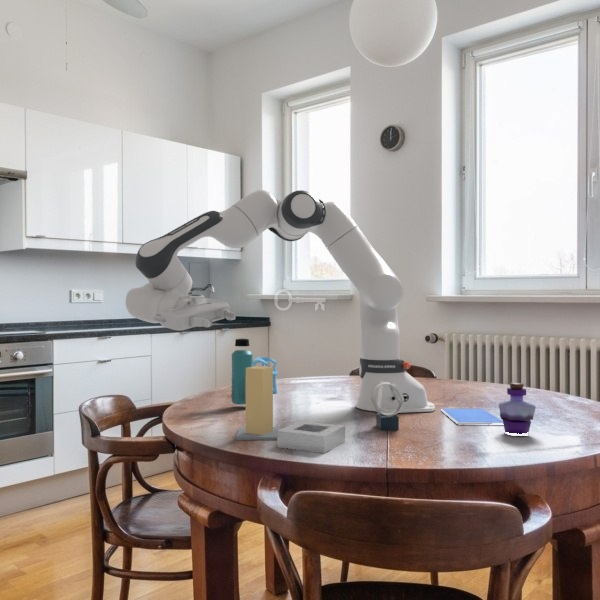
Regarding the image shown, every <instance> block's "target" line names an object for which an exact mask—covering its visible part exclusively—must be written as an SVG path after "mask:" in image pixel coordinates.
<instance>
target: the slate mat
mask: <svg viewBox="0 0 600 600" xmlns="http://www.w3.org/2000/svg"><path fill="white" fill-rule="evenodd" d="M280 429H282V426H273V431H271V432H269V433H267V434H264V435H258V434H251V433H246V426H240V427H239V428H238V430H237V433H236V435H235V440H236V441H243V440H244V441H246V440H247V441H252V440H253V441H264V440H265V441H274V440H276V441H277V431H278V430H280Z"/></svg>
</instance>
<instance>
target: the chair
mask: <svg viewBox="0 0 600 600" xmlns="http://www.w3.org/2000/svg"><path fill="white" fill-rule="evenodd" d="M269 362H271V363H273V364H274V365H273V366H272V367H273V394H278V388H277V375H279V371H277V370H276V369H277V368H276V366H277V364H278V361H276V360H275V359H273V358H271V357H266V356H265V357H263V356H258V357H256V358H253V366H257V365H256V364H261V366H265V367H269Z"/></svg>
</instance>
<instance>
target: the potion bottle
mask: <svg viewBox="0 0 600 600" xmlns="http://www.w3.org/2000/svg"><path fill="white" fill-rule="evenodd" d="M524 385H525V384H524V383H521V382H510V383H509V387H506V393H507V395H509V397H510V398H509V400H506V401H505V400H504V401H502V402H501V401H500V402H498V409H499V417H500V419H501V420H502V421H503V424H504V426H503V428H504V433H505V432H509V433H517V434H518V433H519V434H522V433H527V432H530V428H531V424H532V421H534V416H535V411H536V405H535V404H534V403H530V402H527V401H524V396H527V388H525V387H524Z"/></svg>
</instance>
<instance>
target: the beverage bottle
mask: <svg viewBox="0 0 600 600" xmlns="http://www.w3.org/2000/svg"><path fill="white" fill-rule="evenodd" d="M234 341H235V343H234V346H235V347H250V339H248V338H236V339H235V340H234ZM253 360H254V354H253V352H252V351H251V350H247V349H236V350H234V352H232V353H231V388H230V389H231V402H232V404H235V405H246V368H248V367H253Z"/></svg>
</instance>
